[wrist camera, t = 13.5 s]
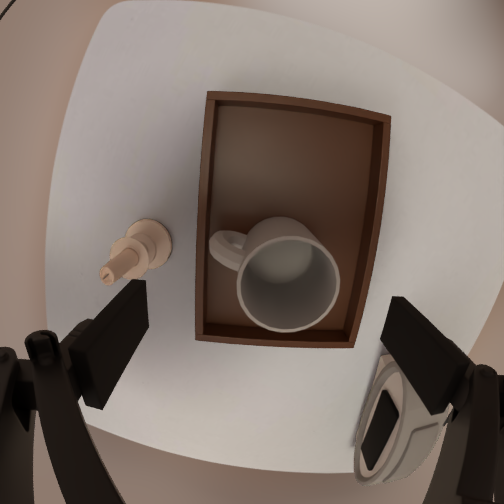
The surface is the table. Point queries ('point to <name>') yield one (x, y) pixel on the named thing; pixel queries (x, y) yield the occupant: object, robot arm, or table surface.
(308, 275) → the cup
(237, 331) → the tray
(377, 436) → the alarm clock
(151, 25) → the table surface
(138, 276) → the candle
